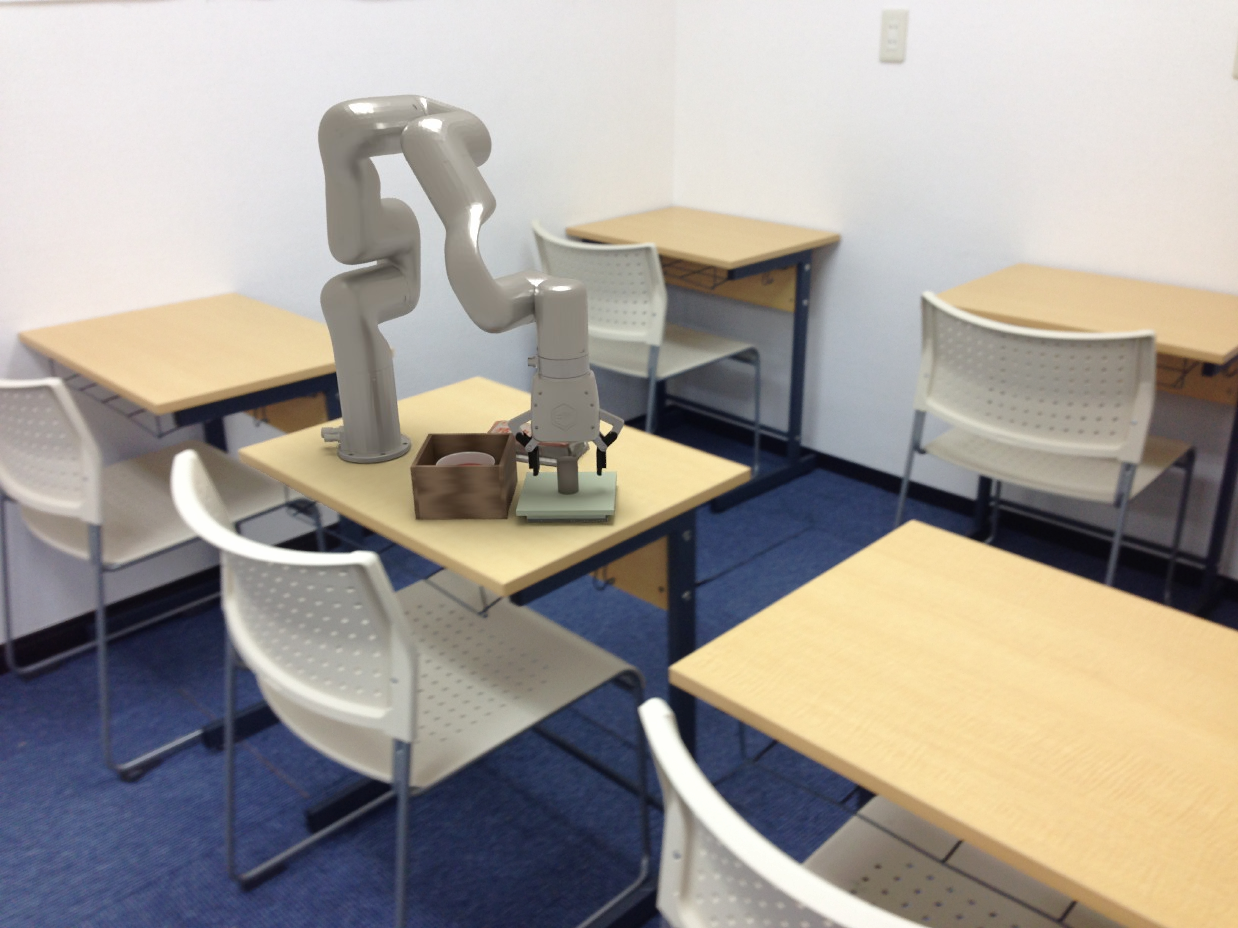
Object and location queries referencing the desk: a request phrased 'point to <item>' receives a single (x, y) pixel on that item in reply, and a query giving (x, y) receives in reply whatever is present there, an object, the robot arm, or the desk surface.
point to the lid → (567, 493)
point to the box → (464, 477)
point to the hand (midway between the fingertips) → (568, 472)
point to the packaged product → (542, 446)
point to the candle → (467, 459)
